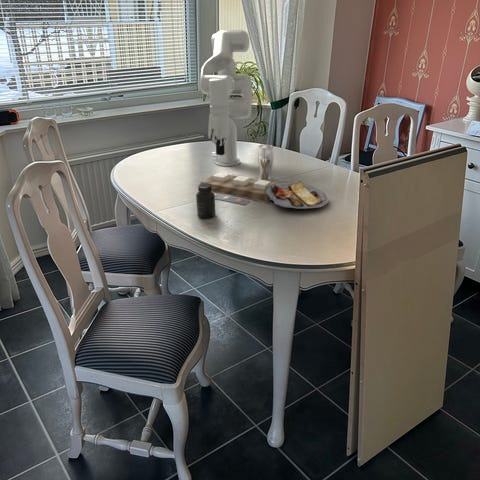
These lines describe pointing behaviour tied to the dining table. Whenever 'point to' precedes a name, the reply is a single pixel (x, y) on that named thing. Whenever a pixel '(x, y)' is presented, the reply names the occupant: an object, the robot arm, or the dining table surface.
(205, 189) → the supplement bottle
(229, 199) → the pattern card
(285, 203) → the food plate
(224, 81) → the robot arm
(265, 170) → the beer glass
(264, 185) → the right button
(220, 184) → the button board
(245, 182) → the middle button
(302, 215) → the dining table surface
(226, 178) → the left button
